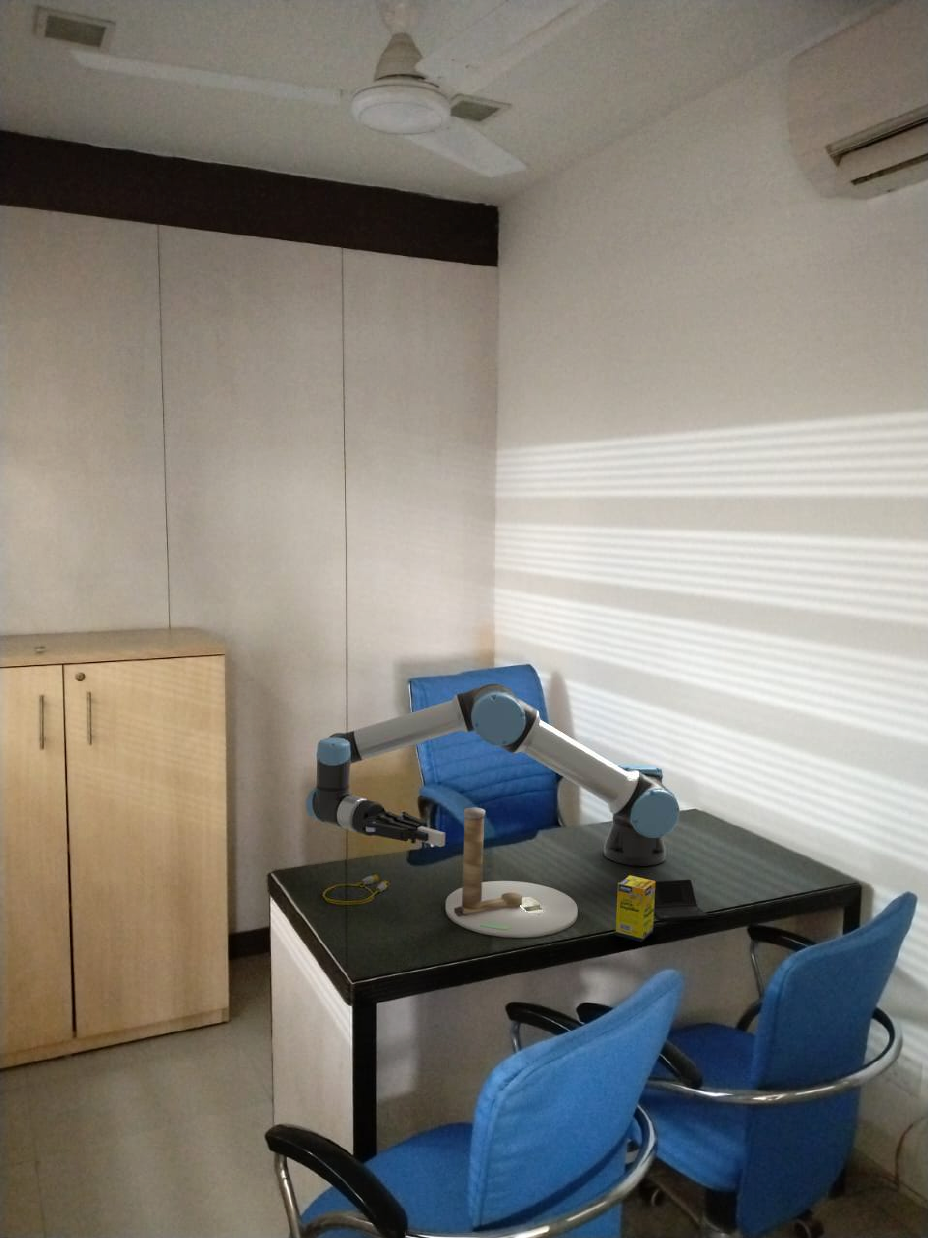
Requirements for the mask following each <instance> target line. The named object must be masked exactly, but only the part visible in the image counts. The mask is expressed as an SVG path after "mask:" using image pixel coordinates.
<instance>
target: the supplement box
mask: <svg viewBox="0 0 928 1238" xmlns="http://www.w3.org/2000/svg"><path fill="white" fill-rule="evenodd" d="M656 882H657V881H655V880H651V879H646V878H643V877H638V876H635V875H628V876H627V877H626V878H625V879H623V880H621V881H619V882H618V883H617V897H616V898H617V899H616V901H617V902H616V916H615V917H616V919H615V934H614V935H615V936H617V937H621V938H626V939H629V940H633V941H637V942H640V943H642V942H644V941H645V940H646V939H647V938H648V937H649V936H650V935H651V934H653V933H654V932H653V931H654V919H655V916H654V900H655V883H656Z"/></svg>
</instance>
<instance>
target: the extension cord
mask: <svg viewBox="0 0 928 1238" xmlns="http://www.w3.org/2000/svg"><path fill="white" fill-rule="evenodd" d="M379 880H380V878H379V876H378V875H377V874H374V875H369V876H366V877H364V878H363V879H362V880H360V882H357V883H353V884H351V883H350V884H349V883H342V884H335V885H331V886H330V887H328V888H326V889H325V890H323V892H322V897H323V899H324V900H325V901H326V902H328V903H331V904H334V905H342V906H345V905H347V906H348V905H363V904H367V903H370V902H372V901H373V899H375V898H374V897H375V895H376V894H377V892H380V893H381V891H382V892H383V890H384V891H385V890H386V889H387V888H389V886H390V883H389V881H387V880H382V881H381V882H380V883H378V884H377V886H376V888H375V892H373V891H372V890H371V889H370V888H369V887H367V886H366V885H372V884H374V883H377V882H379ZM341 885H342V887H346V886H345V885H348V887H358V886H360V887H359V888H363V887H365V888H364V889H366V890H367V889H368V890H367V891H369V892H370V894H371V895H370V896H369V897H368V898H365V899H361V900H338V899H332V898H328V897H326V896H325V895H326V893H327V892H326V891H328V890H330V889H332V888H334V889H336V888H335V887H337V886H341ZM349 885H350V886H349ZM337 888H338V887H337ZM330 891H331V890H330ZM328 892H329V891H328ZM369 901H370V902H369Z"/></svg>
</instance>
